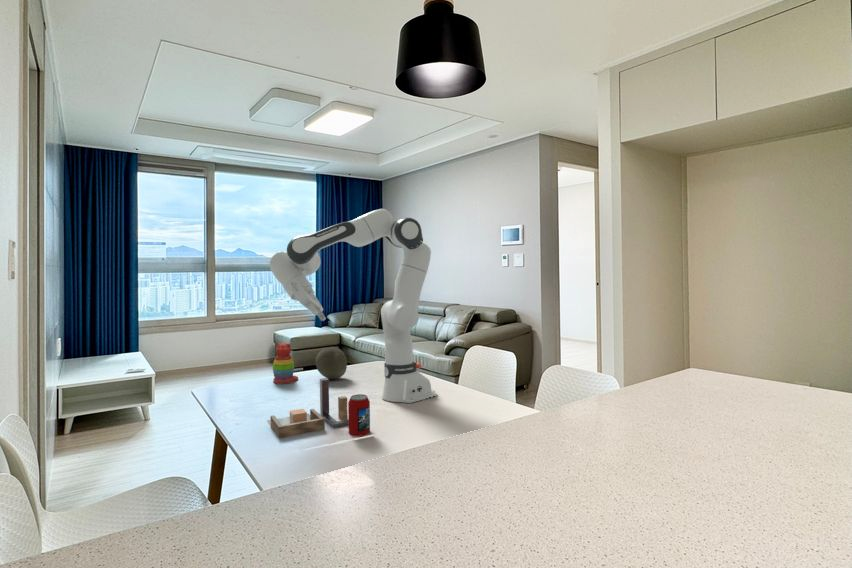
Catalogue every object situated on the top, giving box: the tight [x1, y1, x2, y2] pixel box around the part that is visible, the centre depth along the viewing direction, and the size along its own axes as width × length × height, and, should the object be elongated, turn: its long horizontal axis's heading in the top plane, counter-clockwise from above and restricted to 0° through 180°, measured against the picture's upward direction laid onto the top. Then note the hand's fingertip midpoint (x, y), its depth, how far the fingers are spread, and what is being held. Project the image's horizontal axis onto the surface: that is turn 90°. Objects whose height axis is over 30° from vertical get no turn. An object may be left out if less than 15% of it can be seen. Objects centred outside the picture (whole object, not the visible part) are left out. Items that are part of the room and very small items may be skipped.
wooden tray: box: [266, 408, 326, 439], centre depth 154 cm, size 14×19×4 cm
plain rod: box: [337, 395, 348, 421], centre depth 160 cm, size 2×2×8 cm
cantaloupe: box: [315, 346, 348, 380], centre depth 216 cm, size 14×14×15 cm
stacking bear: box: [272, 342, 299, 385], centre depth 213 cm, size 11×10×18 cm
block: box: [289, 408, 308, 424], centre depth 154 cm, size 4×4×4 cm
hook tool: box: [319, 377, 349, 429], centre depth 158 cm, size 8×13×14 cm, turn 30°
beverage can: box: [347, 393, 371, 438], centre depth 147 cm, size 7×7×12 cm
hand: (320, 317), depth 168 cm, fingers open, 8 cm apart
